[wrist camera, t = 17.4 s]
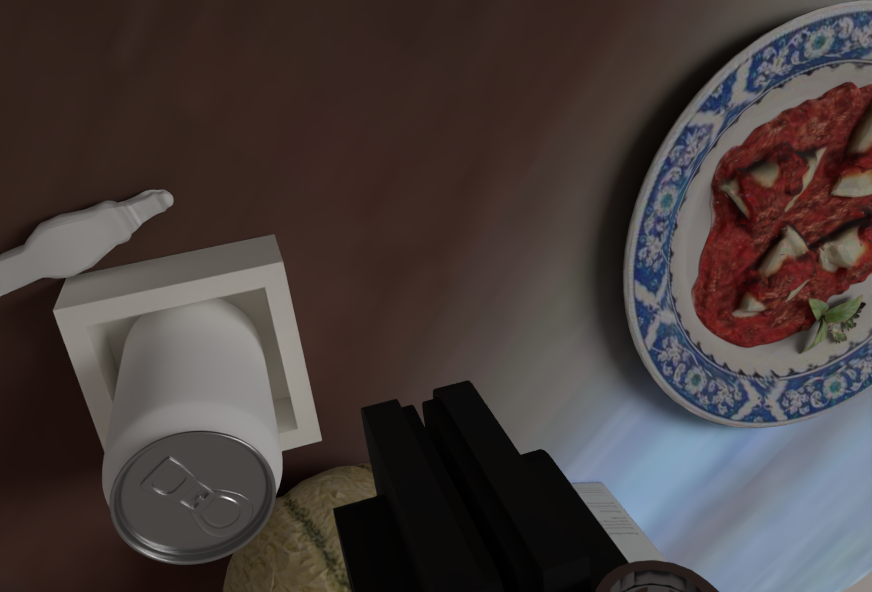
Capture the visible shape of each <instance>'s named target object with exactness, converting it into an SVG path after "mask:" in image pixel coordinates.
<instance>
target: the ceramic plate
mask: <svg viewBox="0 0 872 592" xmlns="http://www.w3.org/2000/svg"><path fill="white" fill-rule="evenodd" d="M623 293H624V303H625V312H626V316H627V321H628V326H629V330H630V333H631V336H632V339H633V342H634V345H635V347H636V350H637V352H638V354H639V356H640V358H641V360H642V362H643V364H644V365H645V367H646V369H647V370H648V372H649V373H650V375H651V376H652V378H653V379H654V380H655V381H656V382H657V384H658V385H659V386H660V387H661V389H662V390H663V391H664V392H665V393H666V394H667V395H668V396H670V397H671V398H672V399H673V400H674V401H675V402H677V403H678V404H680V405H681V406H683V407H684V408H686V409H687V410H689V411H690V412H692V413H694V414H696V415H698V416H700V417H702V418H705V419H707V420H710V421H713V422H716V423H720V424H724V425H729V426H733V427H742V428H766V427H776V426H782V425H787V424H793V423H797V422H800V421H804V420H807V419H811V418H813V417H816V416H819V415H822V414H824V413H827V412H830V411H832V410H834V409H836V408H838V407H840V406H842V405H843V404H845V403H847V402H849V401H851V400H852V399H854V398H856V397H858V396H859V395H861V394H863V393H864V392H866V391H867V390H869V389H870V388H872V1H855V2H849V3H842V4H836V5H832V6H829V7H825V8H821V9H817V10H814V11H812V12H809V13H807V14H804V15H801V16H799V17H796V18H794V19H792V20H790V21H788V22H786V23H784V24H783V25H781V26H779V27H777V28H775V29H773V30H771V31H769V32H767V33H765V34H764V35H762V36H761V37H760V38H758V39H757V40H755V41H754V42H753V43H751V44H750V45H749V46H747V47H746V48H745V49H743V50H742V51H741V52H739V53H738V54H737V55H735V56H734V57H733V58H732V59H731V60H729V61H728V62H727V63H726V64H725V65H724V66H723V67H722V68H721V69H720V70H718V71H717V72H716V73H715V74H714V75H713V76H712V77H711V78H710V80H709V81H708V82H707V83H706V84H705V85H704V86H703V87H702V88H701V89H700V90H699V91H698V92H697V94H696V95H695V96H694V97H693V99H692V100H691V101H690V102H689V104H688V105H687V106H686V108H685V109H684V110H683V111H682V113H681V114H680V116H679V117H678V119H677V120H676V121H675V123H674V124H673V126H672V127H671V129H670V130H669V132H668V133H667V135H666V137H665V139H664V140H663V142H662V144H661V146H660V148H659V149H658V151H657V153H656V155H655V156H654V159H653V161H652V163H651V165H650V167H649V169H648V172H647V174H646V176H645V178H644V181H643V183H642V186H641V189H640V191H639V194H638V197H637V200H636V202H635V206H634V210H633V213H632V217H631V221H630V224H629V229H628V235H627V240H626V246H625V255H624V265H623Z"/></svg>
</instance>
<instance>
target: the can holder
mask: <svg viewBox="0 0 872 592" xmlns="http://www.w3.org/2000/svg"><path fill="white" fill-rule="evenodd" d="M213 298H218V299H221V300H224V301H226V302H228V303H230V304H232V305H234V306H235V307H237V308H238V309H240V310H241V311H242V312H243V313H244V314H245V315H246V316H247V317H248V318H249V319H250V320H251V322H252V323H253V325H254V326H255V328H256V330H257V332H258V334H259V337H260V340H261V344H262V348H263V353H264V358H265V363H266V368H267V374H268V379H269V384H270V389H271V395H272V400H273V405H274V411H275V416H276V422H277V427H278V433H279V439H280V445H281V451H285V450H288V449H292V448H296V447H300V446H303V445H307V444H311V443H315V442H318V441H322V438H321V433H320V429H319V424H318V420H317V415H316V411H315V406H314V402H313V397H312V392H311V388H310V383H309V379H308V374H307V370H306V365H305V360H304V356H303V351H302V347H301V342H300V338H299V333H298V329H297V324H296V319H295V315H294V310H293V306H292V301H291V297H290V292H289V288H288V283H287V278H286V274H285V269H284V265H283V261H282V257H281V254H280V251H279V248H278V245H277V241H276V238H275V235H274V234H273V235H268V236H263V237H258V238H253V239H249V240H244V241H239V242H234V243H229V244H224V245H219V246H215V247H210V248H205V249H200V250H195V251H190V252H185V253H181V254H176V255H171V256H166V257H161V258H156V259H151V260H146V261H142V262H137V263H132V264H127V265H122V266H117V267H112V268H108V269H103V270H98V271H93V272H88V273H83V274H78V275H75V276H73V277H68V278H66V280H65V282H64V285H63V287H62V290H61V292H60V294H59V297H58V299H57V302H56V304H55V307H54V309H53V313H54V316H55V318H56V321H57V324H58V326H59V329H60V332H61V335H62V337H63V340H64V343H65V346H66V348H67V351H68V354H69V356H70V359H71V362H72V365H73V367H74V370H75V373H76V376H77V378H78V381H79V384H80V387H81V389H82V392H83V395H84V397H85V400H86V403H87V406H88V408H89V411H90V414H91V417H92V419H93V422H94V425H95V427H96V430H97V433H98V436H99V438H100V441H101V444H102V447H103V449H104V452H105V447H106V441H107V435H108V430H109V424H110V418H111V413H112V407H113V402H114V396H115V391H116V386H117V380H118V375H119V370H120V364H121V359H122V355H123V350H124V346H125V342H126V339H127V336H128V334H129V332H130V330H131V328H132V327H133V325H134V324H135V322H136V321H137V320H138V319H139V318H140V317H141V316H142V315H143V314H145V313H149V312H154V311H159V310H163V309H168V308H172V307H177V306H181V305H186V304H190V303H195V302H199V301H204V300H209V299H213Z"/></svg>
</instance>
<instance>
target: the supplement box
mask: <svg viewBox="0 0 872 592" xmlns="http://www.w3.org/2000/svg"><path fill="white" fill-rule="evenodd" d="M571 485H572V486H573V488H574V489H575V490H576V492H577V493H578V494H579V496H580V497H581V498H582V500H583V501H584V502H585V504H586V505H587V506H588V508H589V509H590V511H591V512H592V513H593V515H594V516H595V517H596V519H597V520H598V521H599V523H600V524H601V525H602V527H603V528H604V529H605V531H606V532H607V534H608V535H609V536H610V538H611V539H612V540H613V542H614V543H615V544H616V546H617V547H618V548H619V550H620V551H621V552H622V554H623V555H624V556H625V558H626V559H627V561H628V562H629V563H631V562H634V561H646V560H657V561H664V562H667V560H666V559H665V558H664V557H663V556H662V554H661V553H660V552H659V551H658V549H657V548H656V547H655V546H654V545H653V543H652V542H651V541H650V540H649V538H648V537H647V536H646V535H645V533H644V532H643V531H642V530H641V529H640V528H639V526H638V525H637V524H636V523H635V522H634V520H633V519H632V518H631V517H630V515H629V514H628V513H627V512H626V511H625V509H624V508H623V507H622V506H621V504H620V503H619V502H618V501H617V500H616V498H615V497H614V496H613V495H612V493H611V492H610V491H609V490H608V489H607V487H606V486H605V485H604V484H603V483H579V484H571Z"/></svg>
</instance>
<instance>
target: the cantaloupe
mask: <svg viewBox="0 0 872 592" xmlns="http://www.w3.org/2000/svg"><path fill="white" fill-rule="evenodd" d="M375 496H377V494H376V489H375V484H374V478H373V473H372V468H371V463H360V464H358V465H355V466H341V467H335V468H332V469H330V470H327V471H324V472H322V473H319V474H317V475H315V476H312V477H310V478H308V479H306V480H303V481H302V482H300V483H299V484H297V485H296V486H295V487H294V488H292V489H291V490H290V491H288V492H287V493H286V494H285V495H284V496H282V497H279V498H276V500H275V505H274V508H273V511H272V514H271V516H270V518H269V520H268V522H267V523H266V525H265V526H264V528H263V529H262V530H261V531H260V533H259V534H258V535H257V536H256V537H255V538H254V539H253V540H252V541H250V542H249V543H248V544H247V545H245V546H244V547H242V548H241V549H239V550H238V551H236V552H234V553H233V555H232V558H231V560H230V562H229V565H228V568H227V572H226V577H225V581H224V586H223V590H222V592H351V588H350V584H349V580H348V575H347V571H346V567H345V563H344V558H343V554H342V550H341V545H340V541H339V536H338V532H337V527H336V523H335V518H334V513H333V508H336V507H340V506H343V505H347V504H350V503H354V502H357V501H361V500H364V499H368V498H371V497H375Z"/></svg>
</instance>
